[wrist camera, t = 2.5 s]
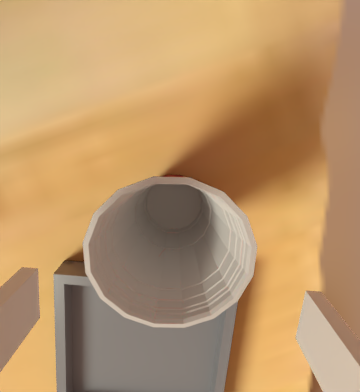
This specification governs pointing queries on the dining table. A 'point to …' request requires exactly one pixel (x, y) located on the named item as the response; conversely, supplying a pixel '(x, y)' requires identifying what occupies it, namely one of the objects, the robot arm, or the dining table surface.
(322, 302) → the robot arm
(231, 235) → the plastic cup
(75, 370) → the tray
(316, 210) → the dining table surface
